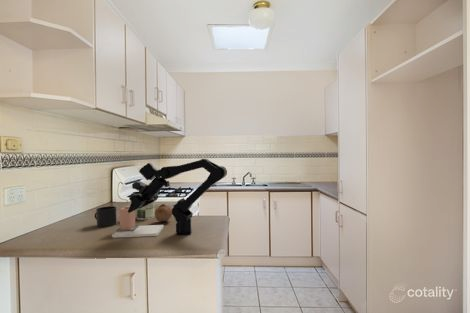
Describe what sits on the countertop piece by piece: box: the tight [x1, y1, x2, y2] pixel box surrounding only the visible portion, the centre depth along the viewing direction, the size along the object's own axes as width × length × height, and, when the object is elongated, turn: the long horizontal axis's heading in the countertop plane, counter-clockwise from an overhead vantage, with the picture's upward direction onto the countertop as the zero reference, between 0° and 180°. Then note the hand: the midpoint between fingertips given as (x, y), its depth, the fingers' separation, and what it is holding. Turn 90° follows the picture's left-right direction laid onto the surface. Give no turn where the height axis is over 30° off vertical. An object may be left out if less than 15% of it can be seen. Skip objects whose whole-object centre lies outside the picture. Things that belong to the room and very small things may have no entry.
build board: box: [111, 224, 164, 239], centre depth 124 cm, size 20×14×2 cm
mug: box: [94, 205, 118, 228], centre depth 138 cm, size 9×12×9 cm
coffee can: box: [135, 192, 155, 221], centre depth 152 cm, size 10×10×14 cm
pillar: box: [119, 205, 136, 230], centre depth 125 cm, size 5×5×11 cm
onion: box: [154, 203, 173, 223], centre depth 141 cm, size 10×9×10 cm
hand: (133, 210), depth 125 cm, fingers open, 9 cm apart
